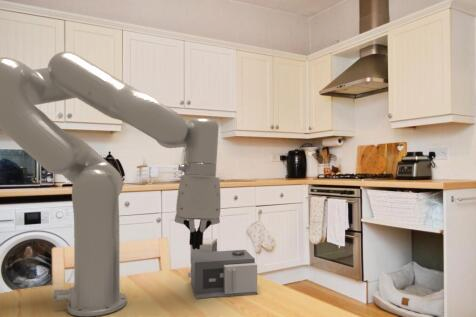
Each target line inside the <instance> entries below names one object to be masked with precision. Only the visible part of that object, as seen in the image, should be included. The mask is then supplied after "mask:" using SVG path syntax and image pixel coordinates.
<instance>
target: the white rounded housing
mask: <svg viewBox="0 0 476 317" xmlns="http://www.w3.org/2000/svg"><path fill="white" fill-rule="evenodd" d="M189 245H190V244H189ZM214 251H218V238H212V237H211V238H210V237H208V238H205V237H203V245H200V249H197V248H196V249H193V248H192V245H190V254H191V253H197V252H214ZM187 274H188V278H191V270H189V271H188V272H187Z"/></svg>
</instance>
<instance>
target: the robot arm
mask: <svg viewBox="0 0 476 317" xmlns="http://www.w3.org/2000/svg"><path fill="white" fill-rule="evenodd" d="M71 99H78V100H79V101H82V102H83V103H84V104H86V105H88V106H90V107H91V108H93V109H95V110H97V111H98V112H100V113H102V114H103V115H105V116H106V117H109V118H111V119H114V120H118V121H121V122H122V123H125V124H128V125H129V126H131V127H133V128H134V129H137V130H138V131H140V132H141V133H143V134H145V135H147V136H148V137H150V138H152V139H153V140H154V141H155V140H156V142H157V143H158V144H159V145H160V146H162V147H164V148H165V149H166V148H167V149H176V148H178V149H179V148H185V156H184V157H185V158H184V163H182V164H178V167H177V169H178V170H177V171H181V172H182V173H184V174H183V175H181V176H180V178H179V185H178V190H177V197H176V204H175V205H176V208H175V210H176V213H175V217H174V222H175V223H177V224H180V225H184V226H185V227H186V228H187V229H188V230H189V243H188V245H192V248H193V249H196V248H197V249H200V245H203V238H204V232H205V231H206V230H207V229H208V228H209V227H210V226H212V225H217V224H220V222H221V221H220V220H221V219H220V216H221V181H220V178H219V177H216V175H217V162H218V159H217V158H218V146H219V145H218V144H219V124H218V122H217V121H216V120H214V119H210V118H197V117H196V118H190V120H187V119H185V118H184V117H183V116H182V115H180V114H179V113H178V112H177V111H175V110H173V109H171V108H170V107H168V106H167V105H165V104H163V103H162V102H160V101H159V100H157V99H155V98H154V97H151V96H150V95H148V94H146V93H145V92H142V91H140V90H138V89H136V88H134V86H131V85H129V84H128V83H125V82H124V81H122V80H120V79H119V78H117V77H115V76H114V75H112V74H110V73H109V72H107V71H106V70H104V69H101V67H98V66H97V65H96V64H93V63H92V62H90V61H89V60H87V59H86V58H84V57H82V56H80V55H78V54H77V53H73V52H70V51H61V52H60V51H59V52H57V53H56V54H54V55H53V56H52V57H51V58H50V60H48V64H47V67H44V68H38V69H37V68H36V69H32V68H31V67H29V66H27V65H26V64H25V63H23V62H21V61H20V60H17V59H14V58H11V57H0V130H1V131H2V132H3V133H5V134H6V135H7V136H8V137H9V138H10V139H11V140H12V141H14V143H16V144H17V145H18V146H19V147H20V148H21V149H22V150H23V151H25V153H27V154H28V156H30V157H31V158H32V159H34V161H36V162H37V163H38V165H40V166H41V167H42V168H43V169H45V170H46V171H47V172H49V173H51V174H54V175H62V176H63V177H64V178H66V179H67V180H68V181H69V182H70V183H71V184H72V188H71V202H72V209H73V210H72V211H73V236H74V237H73V239H74V241H73V242H74V244H73V245H74V247H73V248H74V250H73V252H74V254H73V255H74V259H73V260H74V261H73V262H74V267H73V268H74V269H73V270H74V271H73V272H74V273H73V275H74V282H73V283H74V285H73V287H69V289H54V290H53V294H52V295H53V300H56V302H65V301H68V302H67V304H66V311H67V313H68V314H70V315H73V316H76V317H98V316H103V315H109V314H111V313H113V312H116V311H119V310H120V309H123V308H124V307H125V306H126V304H127V303H128V301H127V298H128V297H127V296H126V295H125V294H124V293H122V292H121V290H120V289H121V286H120V282H121V281H120V276H121V274H120V271H121V268H120V204H119V202H120V200H119V199H120V198H119V197H120V195H121V193H122V191H123V187H124V182H123V178H122V175H121V173H120V172H119V171H118V169H116V168H115V167H114V166H113V165H112V164H111V163H110V162H108V160H106V159H105V158H104V157H103V156H102V155H100V154H99V153H98V151H96V150H95V149H94V148H93V147H92V146H90V145H89V144H88V143H86V141H84V140H83V139H82V138H81V137H78V136H76V135H73V134H70V133H68V132H66V131H65V130H63V128H61V127H60V126H59V125H57V124H56V123H55V122H54V121H53V120H52V119H50V117H48V116H47V114H45V112H43V111H41V110H40V108H38V107H37V106H38V105H44V104H48V103H55V102H60V101H66V100H67V101H68V100H71ZM195 220H198V221H199V226H198V228H196V226H195Z"/></svg>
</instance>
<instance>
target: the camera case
mask: <svg viewBox="0 0 476 317" xmlns="http://www.w3.org/2000/svg"><path fill="white" fill-rule="evenodd" d="M255 259H256V258H255V257H253V255H251V253H250V252H248V250H246V249H236V250H235V249H234V250H219V251H218V250H217V251H214V252H197V253H191V252H190V271H191V277H190V282H191V283H190V284H191V287H192V291H193V294H194V298H195V300H203V299H214V298H227V297H238V296H239V297H241V296H249V295H258V291H257V292H246V293H234V294H225V293H224V265H232V264H247V263H256V261H255Z"/></svg>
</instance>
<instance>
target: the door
mask: <svg viewBox="0 0 476 317" xmlns="http://www.w3.org/2000/svg"><path fill="white" fill-rule="evenodd" d="M246 292H257V293H258V264H257V263H256V262H255V263H247V264H232V265H224V293H225V294H234V293H246Z"/></svg>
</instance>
